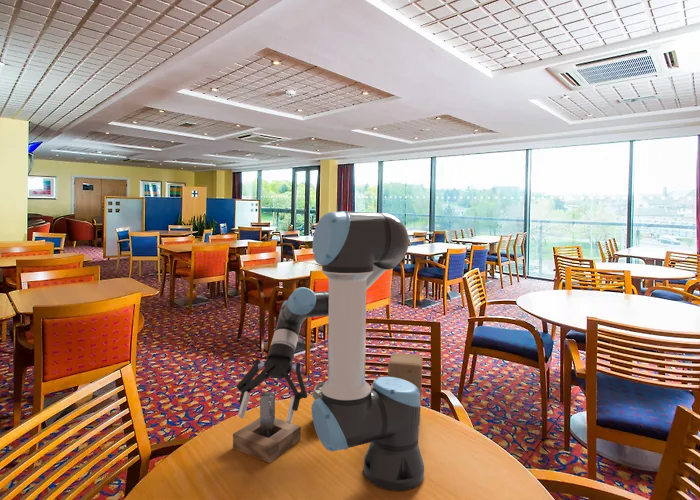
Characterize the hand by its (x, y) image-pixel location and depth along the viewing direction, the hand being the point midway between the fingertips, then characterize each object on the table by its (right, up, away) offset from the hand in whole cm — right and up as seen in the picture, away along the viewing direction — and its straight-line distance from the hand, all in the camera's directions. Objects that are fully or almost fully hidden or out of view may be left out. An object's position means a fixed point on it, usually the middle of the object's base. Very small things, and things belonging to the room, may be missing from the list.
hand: (264, 419), depth 114 cm
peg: (0, -8, +3) cm, 9 cm away
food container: (+14, -7, +18) cm, 24 cm away
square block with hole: (0, -8, +3) cm, 8 cm away
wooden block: (+40, -8, +18) cm, 45 cm away
